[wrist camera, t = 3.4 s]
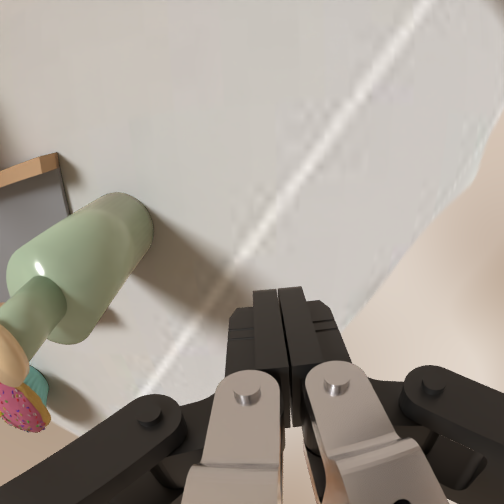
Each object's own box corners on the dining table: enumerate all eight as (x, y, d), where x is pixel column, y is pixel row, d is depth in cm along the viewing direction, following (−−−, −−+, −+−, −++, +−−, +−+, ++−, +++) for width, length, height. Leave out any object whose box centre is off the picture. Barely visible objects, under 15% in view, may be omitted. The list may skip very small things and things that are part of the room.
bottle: (145, 186, 21) (5, 292, 7) (160, 259, 23) (73, 418, 9) (80, 199, 21) (-67, 296, 7) (97, 265, 23) (-11, 398, 9)
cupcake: (13, 385, 30) (-26, 449, 19) (0, 339, 27) (-54, 407, 15) (67, 411, 31) (33, 485, 20) (58, 366, 27) (9, 450, 16)
